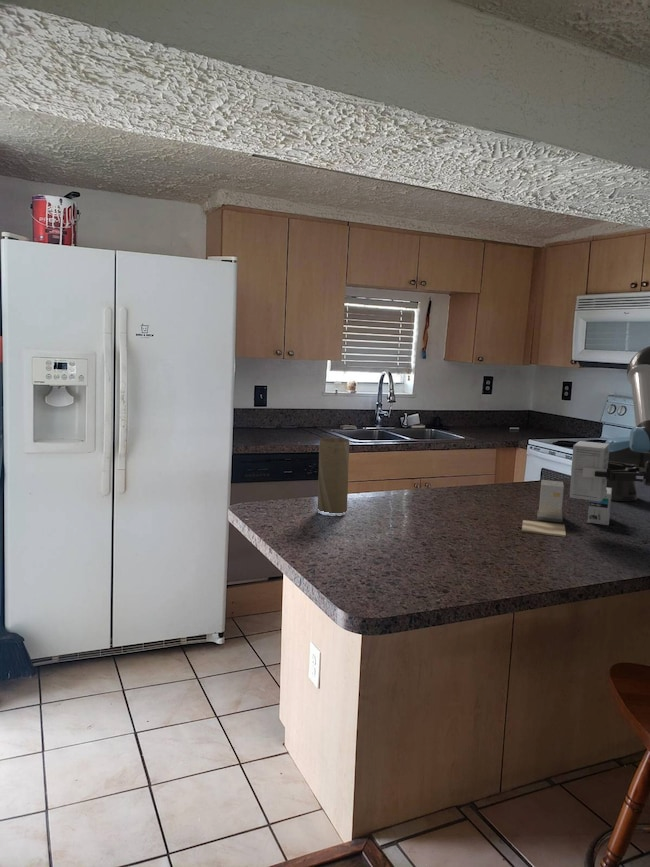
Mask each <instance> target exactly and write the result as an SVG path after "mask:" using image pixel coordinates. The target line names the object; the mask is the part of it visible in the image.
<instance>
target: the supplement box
mask: <svg viewBox="0 0 650 867" xmlns="http://www.w3.org/2000/svg"><path fill="white" fill-rule="evenodd" d="M572 447H573V448H572V459H571V469H570V473H571V474H570V484H569V485H570V486H569V498H572V499H580V500H587V501H589V500H592V501H599V502H600V501H601V500H602V499H603V498H604V497H605V496H606V485H607V479H605V478H593V477H583V476H582V475H583V467H584V468H596V469H606V472H607V468H608V459H609V447H610V444H606V443H605V442H603V443H602V442H594V441H584V440H579V441H578V442H576V443H575V444H573V446H572Z"/></svg>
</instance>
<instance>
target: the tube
mask: <svg viewBox="0 0 650 867" xmlns="http://www.w3.org/2000/svg"><path fill="white" fill-rule="evenodd" d="M318 446H319V447H318V448H319V450H318V477H317V478H318V480H317V481H318V482H317V486H318V487H317V510H318V509H319V510H320V511H324V512H329V513H343V512H346V511H347V512H348V495H349V494H348V493H349V492H348V491H349V488H348V487H349V465H350V439H349V438H344V437H335V436H334V437H330V436H329V437H328V436H327V437H321V438H319V444H318Z"/></svg>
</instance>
